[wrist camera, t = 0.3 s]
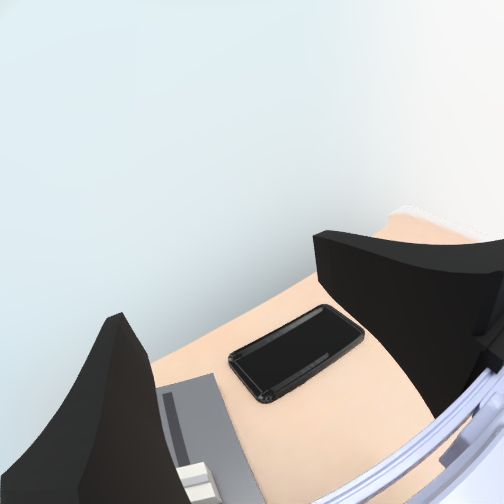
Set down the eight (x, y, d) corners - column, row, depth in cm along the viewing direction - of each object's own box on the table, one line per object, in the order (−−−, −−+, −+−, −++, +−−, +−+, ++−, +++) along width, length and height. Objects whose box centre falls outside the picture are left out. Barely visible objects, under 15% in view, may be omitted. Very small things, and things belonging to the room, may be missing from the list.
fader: (222, 502, 16) (213, 494, 15) (172, 513, 15) (158, 505, 14) (211, 471, 19) (201, 459, 17) (163, 482, 18) (149, 470, 16)
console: (303, 575, 11) (305, 577, 10) (178, 602, 9) (167, 605, 8) (217, 386, 30) (212, 372, 28) (130, 408, 27) (120, 395, 26)
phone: (224, 356, 32) (325, 301, 39) (225, 362, 33) (324, 307, 39) (263, 404, 26) (369, 333, 33) (263, 409, 27) (368, 339, 33)
